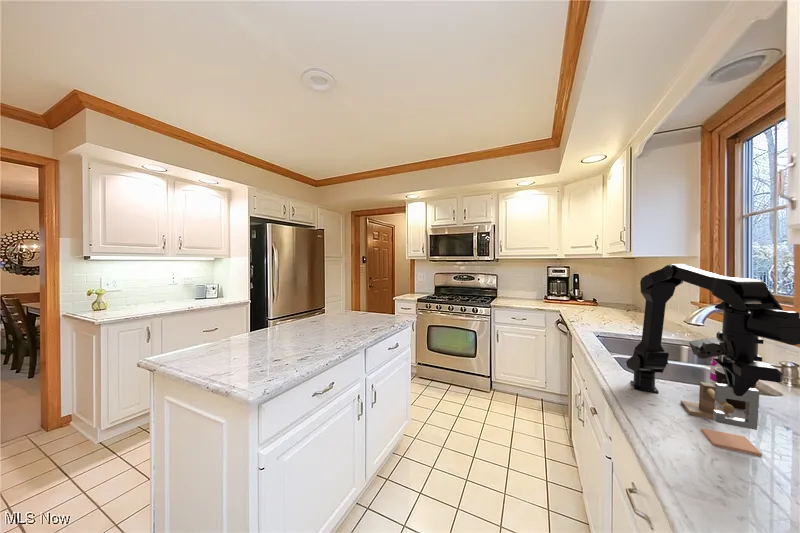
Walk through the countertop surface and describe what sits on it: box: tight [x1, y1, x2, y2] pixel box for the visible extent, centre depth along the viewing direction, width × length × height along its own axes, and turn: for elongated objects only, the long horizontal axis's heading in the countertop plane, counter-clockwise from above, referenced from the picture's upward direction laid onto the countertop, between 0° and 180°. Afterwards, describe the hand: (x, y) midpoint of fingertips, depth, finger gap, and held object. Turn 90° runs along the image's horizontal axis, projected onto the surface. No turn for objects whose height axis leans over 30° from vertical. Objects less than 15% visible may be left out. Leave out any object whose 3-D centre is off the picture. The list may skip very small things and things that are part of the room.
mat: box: [700, 427, 763, 457], centre depth 72 cm, size 7×8×1 cm
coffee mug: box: [715, 367, 758, 411], centre depth 89 cm, size 12×9×10 cm
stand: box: [680, 381, 736, 420], centre depth 81 cm, size 16×9×9 cm, turn 151°
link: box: [713, 383, 760, 431], centre depth 71 cm, size 2×7×10 cm, turn 62°
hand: (736, 394), depth 71 cm, fingers closed on link, 1 cm apart
